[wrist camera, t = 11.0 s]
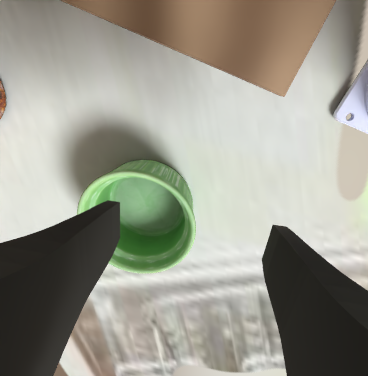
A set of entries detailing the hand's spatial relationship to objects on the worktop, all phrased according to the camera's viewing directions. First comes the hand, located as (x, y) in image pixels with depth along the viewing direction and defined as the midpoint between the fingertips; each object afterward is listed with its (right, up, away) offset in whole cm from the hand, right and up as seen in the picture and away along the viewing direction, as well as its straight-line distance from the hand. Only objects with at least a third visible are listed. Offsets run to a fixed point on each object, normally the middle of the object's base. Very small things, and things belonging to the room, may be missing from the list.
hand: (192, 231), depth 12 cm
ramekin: (-4, +1, +11) cm, 11 cm away
